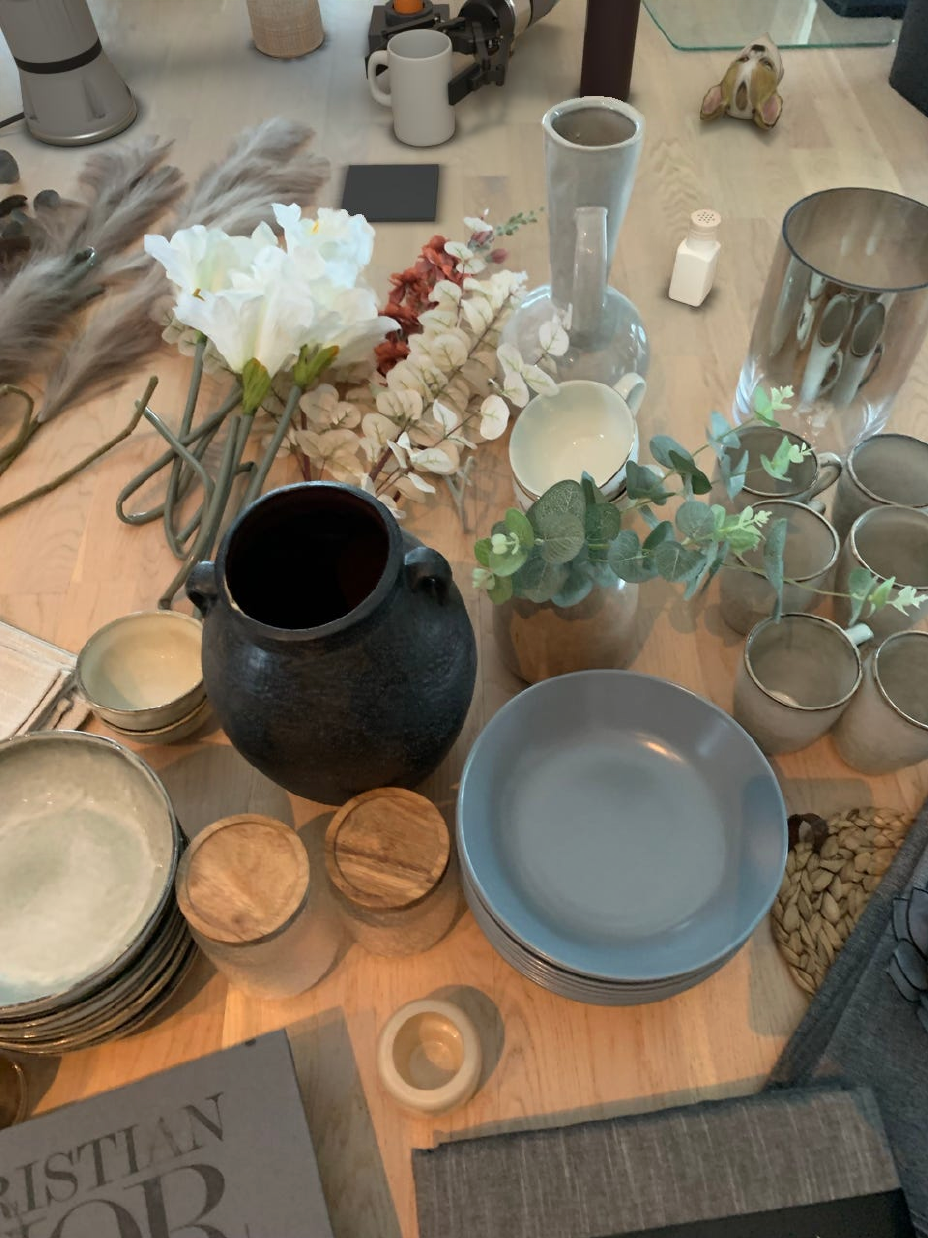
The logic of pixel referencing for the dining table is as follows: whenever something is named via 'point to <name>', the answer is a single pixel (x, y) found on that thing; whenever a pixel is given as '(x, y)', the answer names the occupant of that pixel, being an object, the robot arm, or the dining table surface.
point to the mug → (417, 86)
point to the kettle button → (408, 6)
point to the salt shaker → (696, 259)
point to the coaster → (392, 192)
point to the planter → (286, 26)
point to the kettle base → (399, 18)
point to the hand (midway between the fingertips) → (408, 81)
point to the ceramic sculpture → (749, 86)
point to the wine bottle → (609, 47)
